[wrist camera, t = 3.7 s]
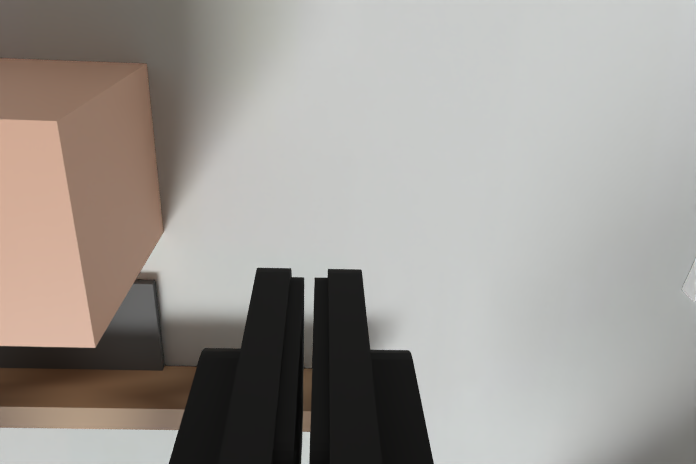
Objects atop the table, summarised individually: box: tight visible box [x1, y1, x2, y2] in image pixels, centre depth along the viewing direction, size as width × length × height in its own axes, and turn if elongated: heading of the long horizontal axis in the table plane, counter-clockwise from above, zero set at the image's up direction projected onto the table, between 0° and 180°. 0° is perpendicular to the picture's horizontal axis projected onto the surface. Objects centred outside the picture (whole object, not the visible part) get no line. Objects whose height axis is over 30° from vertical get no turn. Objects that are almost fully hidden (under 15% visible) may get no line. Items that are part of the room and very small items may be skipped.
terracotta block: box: [0, 58, 163, 348], centre depth 17 cm, size 6×6×7 cm
